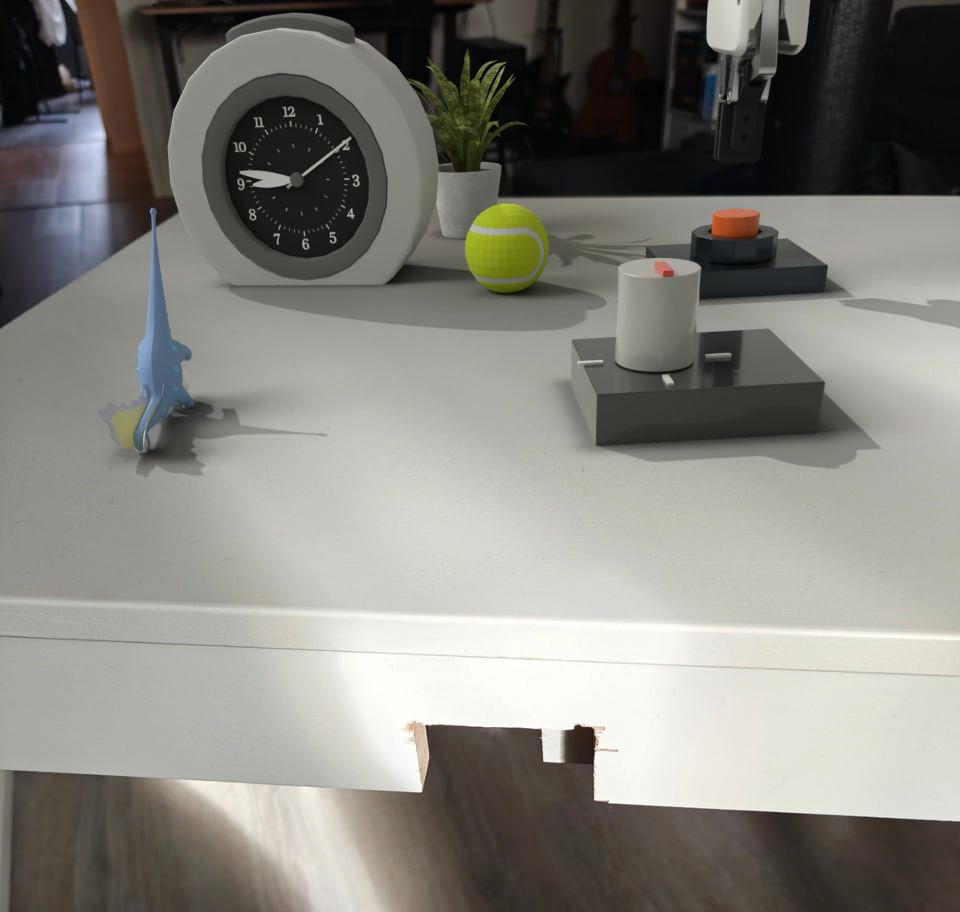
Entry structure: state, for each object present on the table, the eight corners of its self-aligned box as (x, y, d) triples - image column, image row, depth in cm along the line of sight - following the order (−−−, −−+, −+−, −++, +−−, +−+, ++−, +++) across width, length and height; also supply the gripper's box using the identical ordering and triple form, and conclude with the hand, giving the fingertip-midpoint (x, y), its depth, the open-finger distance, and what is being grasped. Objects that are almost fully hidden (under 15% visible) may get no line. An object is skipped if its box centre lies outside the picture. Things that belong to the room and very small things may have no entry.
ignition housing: (784, 265, 87) (790, 215, 85) (824, 294, 78) (831, 240, 76) (644, 272, 87) (647, 222, 84) (669, 303, 78) (673, 248, 76)
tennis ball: (485, 307, 79) (482, 215, 76) (454, 288, 85) (450, 201, 81) (562, 295, 81) (563, 205, 78) (528, 278, 87) (527, 193, 83)
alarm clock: (189, 287, 88) (138, 20, 78) (219, 267, 95) (176, 17, 84) (430, 286, 85) (412, 8, 75) (444, 265, 92) (430, 6, 81)
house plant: (441, 215, 112) (432, 43, 103) (558, 221, 106) (558, 40, 98) (374, 242, 101) (357, 53, 92) (500, 250, 96) (495, 50, 87)
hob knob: (608, 350, 59) (611, 254, 56) (684, 346, 59) (690, 250, 56) (622, 374, 55) (626, 273, 52) (703, 369, 55) (711, 268, 52)
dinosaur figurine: (158, 475, 63) (99, 447, 54) (148, 233, 63) (87, 162, 53) (205, 473, 63) (154, 445, 54) (195, 231, 63) (143, 159, 53)
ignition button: (750, 230, 82) (752, 207, 81) (763, 239, 79) (766, 215, 78) (706, 233, 82) (708, 209, 81) (717, 242, 79) (719, 218, 78)
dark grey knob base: (763, 376, 63) (769, 325, 61) (817, 436, 55) (826, 378, 53) (566, 387, 63) (566, 336, 61) (590, 449, 54) (591, 391, 53)
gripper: (864, -155, 62) (817, 175, 72) (788, -132, 74) (756, 146, 84) (742, -152, 61) (711, 178, 71) (686, -129, 74) (666, 149, 84)
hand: (736, 160), depth 78 cm, fingers closed
